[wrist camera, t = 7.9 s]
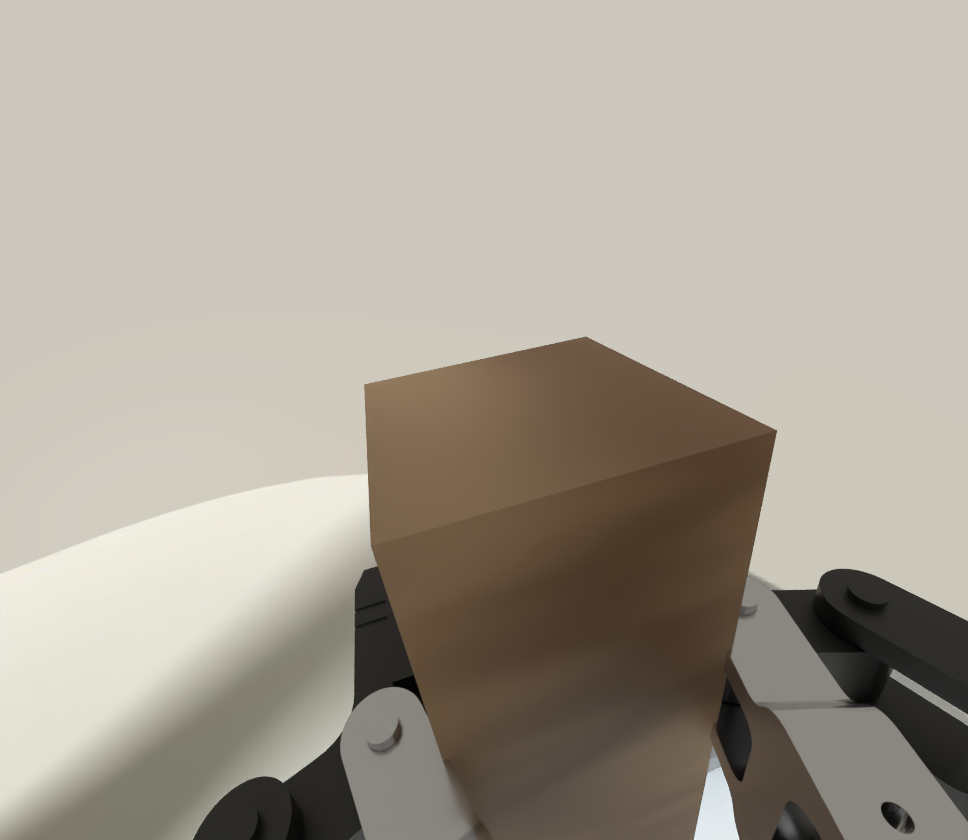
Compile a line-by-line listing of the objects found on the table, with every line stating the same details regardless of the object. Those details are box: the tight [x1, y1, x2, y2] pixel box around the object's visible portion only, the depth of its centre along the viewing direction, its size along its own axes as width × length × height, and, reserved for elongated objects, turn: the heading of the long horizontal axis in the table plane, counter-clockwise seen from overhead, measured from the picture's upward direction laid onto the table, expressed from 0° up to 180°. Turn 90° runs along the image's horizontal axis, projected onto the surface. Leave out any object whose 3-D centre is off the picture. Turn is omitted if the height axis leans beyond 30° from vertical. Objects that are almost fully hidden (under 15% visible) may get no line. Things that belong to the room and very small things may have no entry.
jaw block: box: [364, 337, 777, 840], centre depth 9 cm, size 4×4×11 cm
